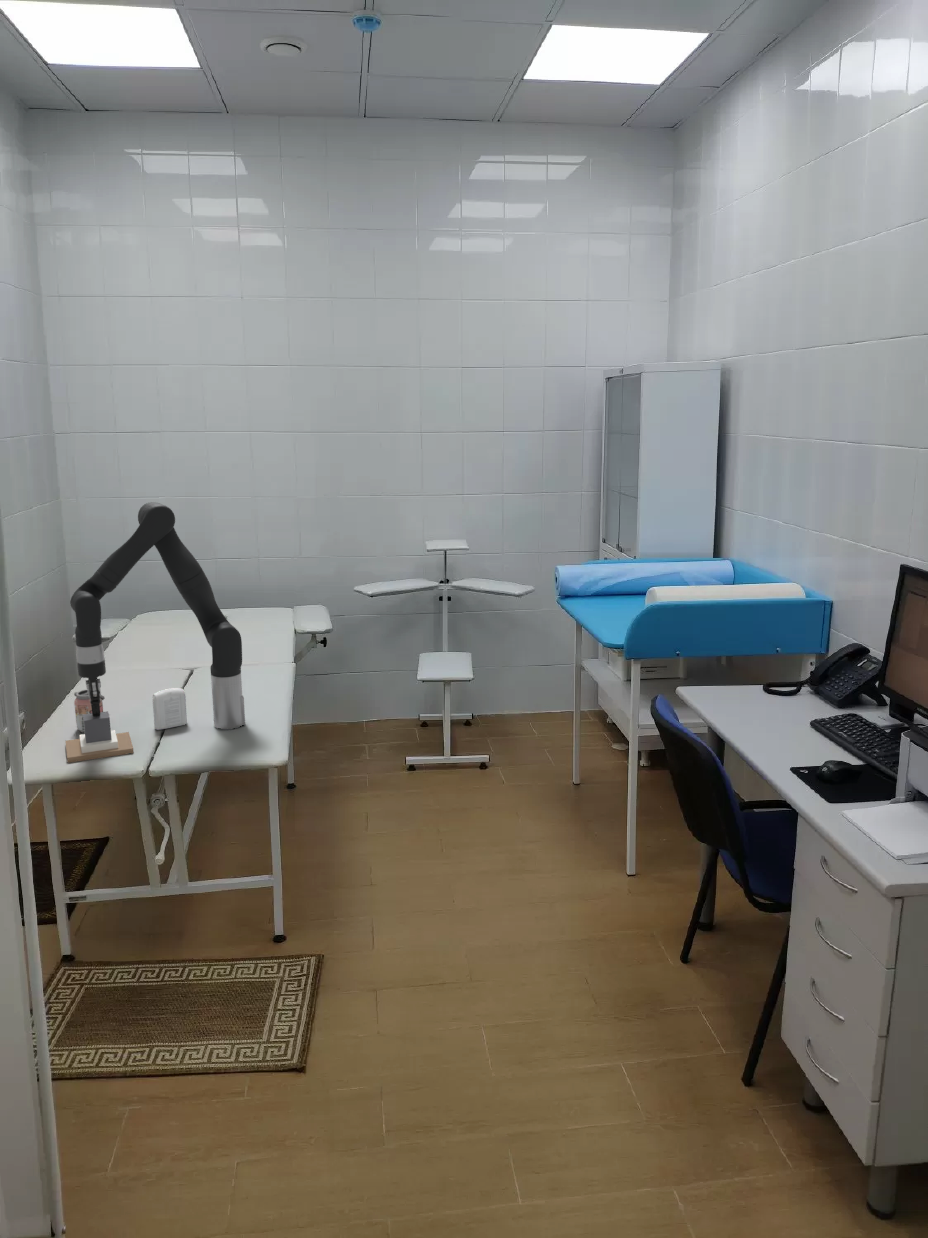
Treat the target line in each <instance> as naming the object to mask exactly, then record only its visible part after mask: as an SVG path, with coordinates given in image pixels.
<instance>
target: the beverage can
mask: <svg viewBox="0 0 928 1238" xmlns="http://www.w3.org/2000/svg"><path fill="white" fill-rule="evenodd" d="M73 695H74V697H75V699H74V702H73V703H74V713H75V722H76V729H77V730H78V732H80V733H83V734H85V731H84V721H83V714H91V713H92V708H91V704H90V698H89V697H88V691H87V688H85V689H82V690H79V691H75V692H74V693H73ZM104 700H105V695H103V694H101V696H100V704H99V705H100V712H104V705H103V701H104Z"/></svg>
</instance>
